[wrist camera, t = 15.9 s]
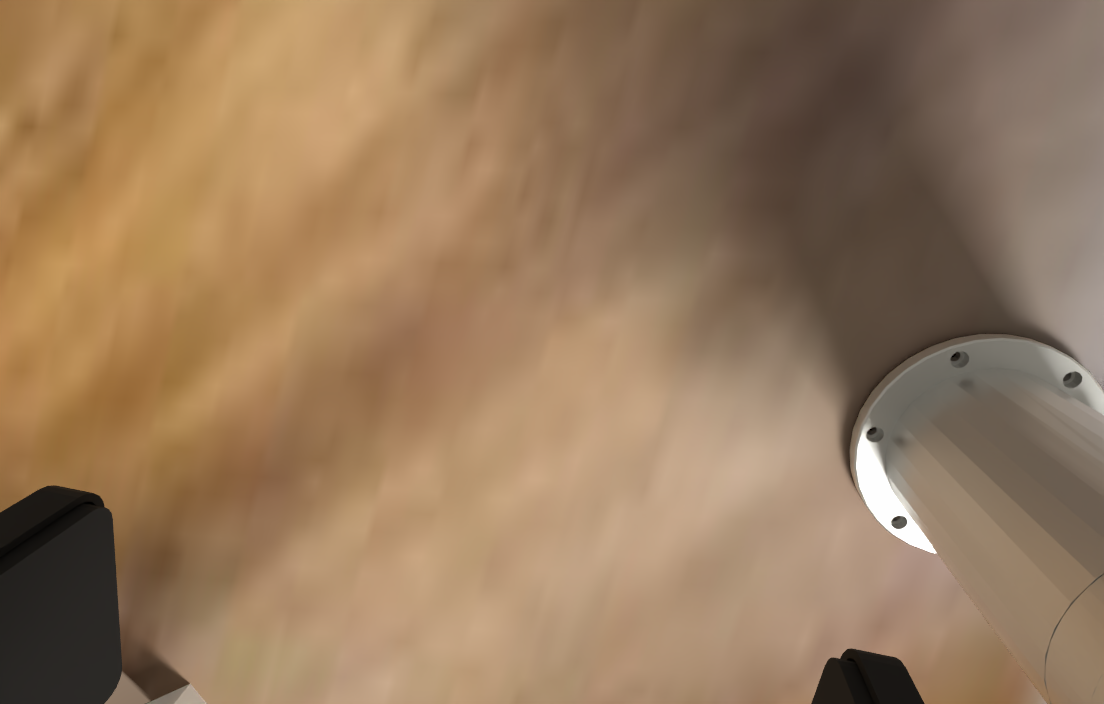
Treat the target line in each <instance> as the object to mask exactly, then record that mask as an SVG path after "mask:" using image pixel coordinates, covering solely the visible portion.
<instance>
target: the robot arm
mask: <svg viewBox="0 0 1104 704" xmlns="http://www.w3.org/2000/svg"><path fill="white" fill-rule="evenodd" d="M954 353H956V355H955V357H953V358H951V357H952V355H953V354H954ZM872 427H874V428H873V430H871V431H868V430H869V429H871V428H872ZM850 468H851V473H852V476H853V480H854V483H855V487H856V489H857V491H858V493H859V495H860V496H861V498H862V500H863V502H864V504H865V505H866V507H867V508H868V509H869V511H870V512H871V514H872V515H873V516H874V518H875V519H876V521H878V522H879V523H880V524H881V525H882V526H883V527H884V528H885V529H886V530H887V531H888V532H889V533H891V534H892V535H894V536H895V537H897V538H899V539H900V540H902V541H904V542H905V543H907V544H909V545H911V546H914V547H916V548H919V549H922V550H924V551H927V552H930V553H935V554H938V556H939V557H940V558H941V560H942V561H943V562H944V564H945V565H946V566H947V568H948V569H949V571H950V572H951V573H952V575H953V576H954V577H955V579H956V580H957V581H958V583H959V584H960V586H961V587H962V588H963V590H964V591H965V592H966V594H967V595H968V596H969V598H970V599H971V601H972V602H973V603H974V605H975V606H976V607H977V609H978V610H979V611H980V613H981V614H982V615H983V617H984V618H985V620H986V621H987V622H988V624H989V625H990V626H991V628H992V629H993V630H994V632H995V633H996V635H997V636H998V637H999V639H1000V640H1001V641H1002V643H1003V644H1004V645H1005V647H1006V648H1007V650H1008V651H1009V652H1010V654H1011V655H1012V656H1013V658H1014V659H1015V660H1016V662H1017V663H1018V664H1019V666H1020V667H1021V669H1022V670H1023V671H1024V673H1025V674H1026V675H1027V677H1028V678H1029V679H1030V681H1031V682H1032V684H1033V685H1034V686H1035V688H1036V689H1037V690H1038V692H1039V693H1040V694H1041V696H1042V697H1043V698H1044V700H1045V701H1046V703H1047V704H1104V391H1103V389H1102V387H1101V386H1100V385H1099V384H1098V382H1097V381H1096V380H1095V378H1094V377H1093V376H1092V375H1091V373H1090V372H1089V371H1088V370H1087V369H1085V368H1084V367H1083V366H1082V365H1080V364H1079V363H1078V362H1077V361H1075V360H1074V359H1073V358H1072V357H1070V356H1068V355H1066V354H1064V353H1063V352H1061V351H1059V350H1057V349H1055V348H1053V347H1051V346H1049V345H1046V344H1043V343H1041V342H1038V341H1035V340H1033V339H1030V338H1025V337H1020V336H1014V335H1008V334H977V335H971V336H965V337H959V338H954V339H951V340H948V341H945V342H942V343H940V344H937V345H934V346H931V347H929V348H927V349H925V350H923V351H921V352H919V353H918V354H916V355H914V356H912V357H910V358H908V359H907V360H905V361H904V362H903V363H902V364H900V365H899V366H898V367H896V368H895V369H894V370H893V371H891V372H890V373H889V374H888V375H887V376H886V377H885V378H884V379H883V380H882V381H881V382H880V383H879V384H878V386H877V387H876V388H875V389H874V390H873V391H872V393H871V394H870V396H869V397H868V399H867V400H866V402H865V404H864V405H863V407H862V408H861V410H860V413H859V415H858V418H857V420H856V423H855V425H854V428H853V432H852V438H851V444H850ZM121 673H122V659H121V643H120V627H119V611H118V596H117V580H116V564H115V548H114V533H113V518H112V514H111V512H110V511H109V509H107V508H105V507H104V503H103V500H102V499H101V498H100V496H98V495H96V494H94V493H89V492H85V491H80V490H75V489H70V488H65V487H60V486H46V487H44V488H42V489H39V490H37V491H36V492H34V493H32V494H31V495H29V496H27V497H26V498H24V499H22V500H21V501H19V502H17V503H16V504H14V505H12V506H11V507H9V508H7V509H6V510H4V511H2V512H1V513H0V704H104V703H105V702H106V701H107V700H108V699H109V697H110V696H111V695H112V693H113V692H114V690H115V689H116V687H117V684H118V682H119V680H120V676H121ZM812 704H924V702H923V700H922V698H921V696H920V694H919V692H918V690H917V689H916V687H915V685H914V683H913V681H912V679H911V677H910V675H909V673H908V671H907V669H906V667H905V666H904V665H903V663H902V662H901V661H900V660H899V659H897V658H895V657H890V656H885V655H881V654H876V653H871V652H866V651H861V650H856V649H847V650H846V651H845V652H844V653H843V654H842V656H841V658H840V659H838V658H830V659H829V660H828V661H827V663H826V665H825V667H824V670H823V673H822V676H821V679H820V681H819V684H818V687H817V690H816V692H815V695H814V698H813V701H812Z"/></svg>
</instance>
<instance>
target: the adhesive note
mask: <svg viewBox="0 0 1104 704" xmlns="http://www.w3.org/2000/svg"><path fill="white" fill-rule="evenodd" d="M146 704H207V703H206V702H205V701H204V699H203V698H202V697H201V696H200V695H199V693H198V692H197V691H196V690H195V689H194V687H193V686H192V685H191V684H188V685H186V686H184V687H182V688H179V689H177V690H175V691H173V692H171V693H168V694H166V695H164V696H162V697H160V698H157V699H155V700H153V701H150V702H148V703H146Z"/></svg>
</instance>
